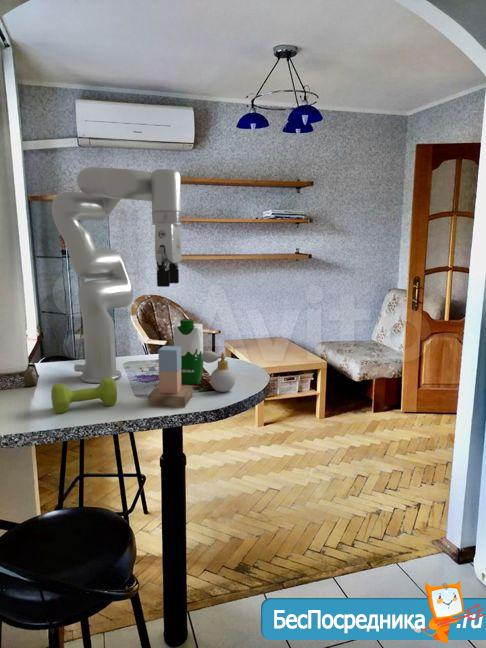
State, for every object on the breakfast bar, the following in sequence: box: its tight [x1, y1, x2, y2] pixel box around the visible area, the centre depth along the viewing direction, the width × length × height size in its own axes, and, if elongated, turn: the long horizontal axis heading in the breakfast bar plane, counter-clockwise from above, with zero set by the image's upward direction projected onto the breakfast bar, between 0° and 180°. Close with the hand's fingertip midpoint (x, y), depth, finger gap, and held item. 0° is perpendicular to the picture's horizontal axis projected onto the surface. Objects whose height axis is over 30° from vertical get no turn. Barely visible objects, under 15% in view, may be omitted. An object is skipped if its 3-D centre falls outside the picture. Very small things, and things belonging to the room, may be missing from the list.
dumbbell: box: [50, 377, 118, 414], centre depth 126 cm, size 16×8×7 cm, turn 116°
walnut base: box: [147, 383, 193, 408], centre depth 132 cm, size 10×10×3 cm
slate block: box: [157, 345, 181, 373], centre depth 130 cm, size 5×5×6 cm
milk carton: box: [173, 318, 204, 385], centre depth 149 cm, size 9×9×20 cm
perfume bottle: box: [201, 350, 236, 393], centre depth 140 cm, size 8×10×12 cm
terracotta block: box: [158, 368, 182, 393], centre depth 131 cm, size 5×5×6 cm
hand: (168, 284), depth 127 cm, fingers open, 9 cm apart
